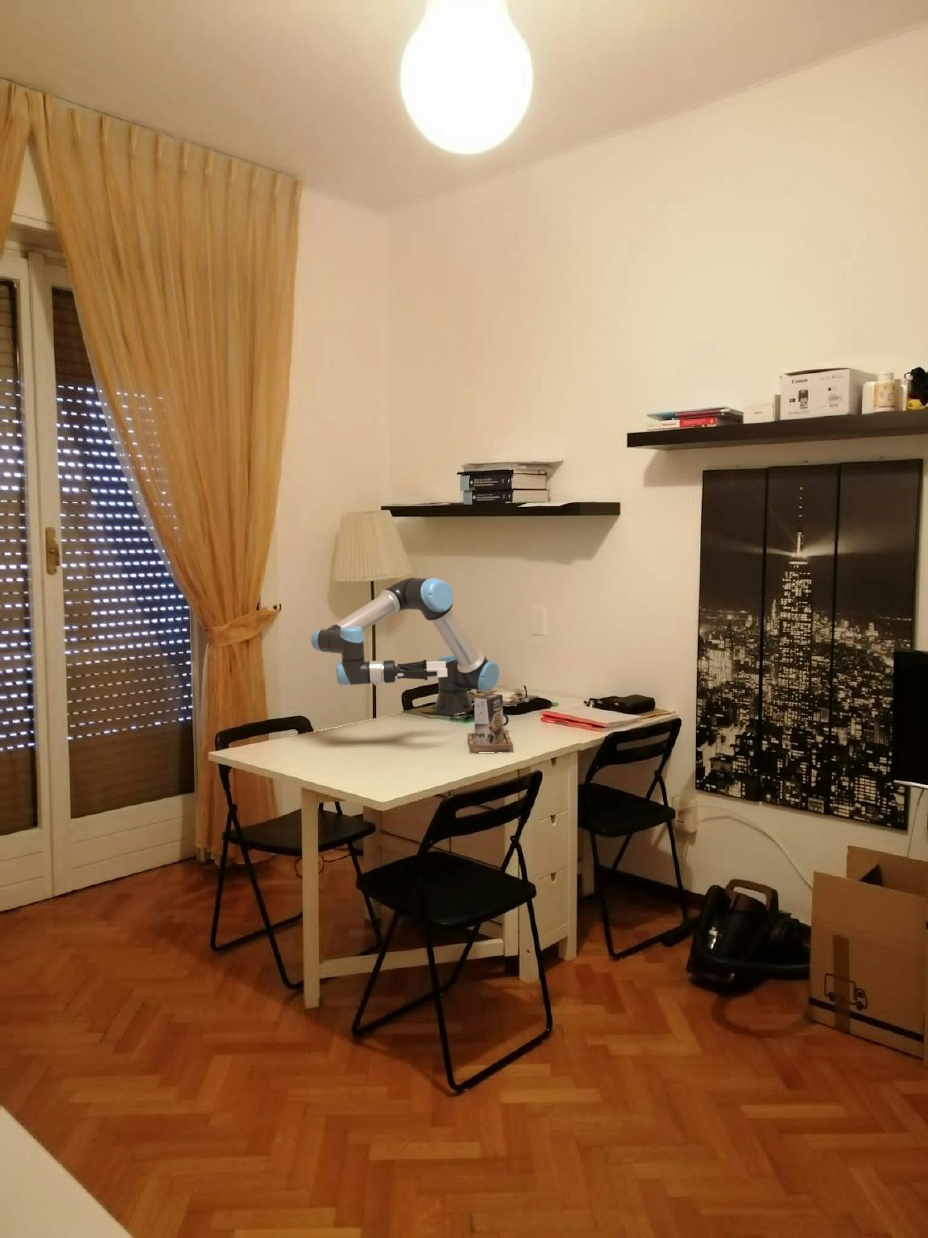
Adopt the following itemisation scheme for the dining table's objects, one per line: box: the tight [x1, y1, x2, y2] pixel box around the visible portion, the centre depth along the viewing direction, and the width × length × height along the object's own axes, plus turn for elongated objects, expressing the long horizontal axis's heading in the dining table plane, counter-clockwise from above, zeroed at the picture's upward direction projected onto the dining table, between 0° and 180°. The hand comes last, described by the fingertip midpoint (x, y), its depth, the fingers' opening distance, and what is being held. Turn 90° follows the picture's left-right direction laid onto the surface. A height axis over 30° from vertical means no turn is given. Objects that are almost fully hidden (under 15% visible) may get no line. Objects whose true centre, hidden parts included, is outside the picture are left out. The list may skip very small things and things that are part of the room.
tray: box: [467, 731, 514, 754], centre depth 307 cm, size 18×14×3 cm
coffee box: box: [473, 693, 504, 745], centre depth 306 cm, size 9×6×16 cm
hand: (446, 668), depth 305 cm, fingers open, 13 cm apart
